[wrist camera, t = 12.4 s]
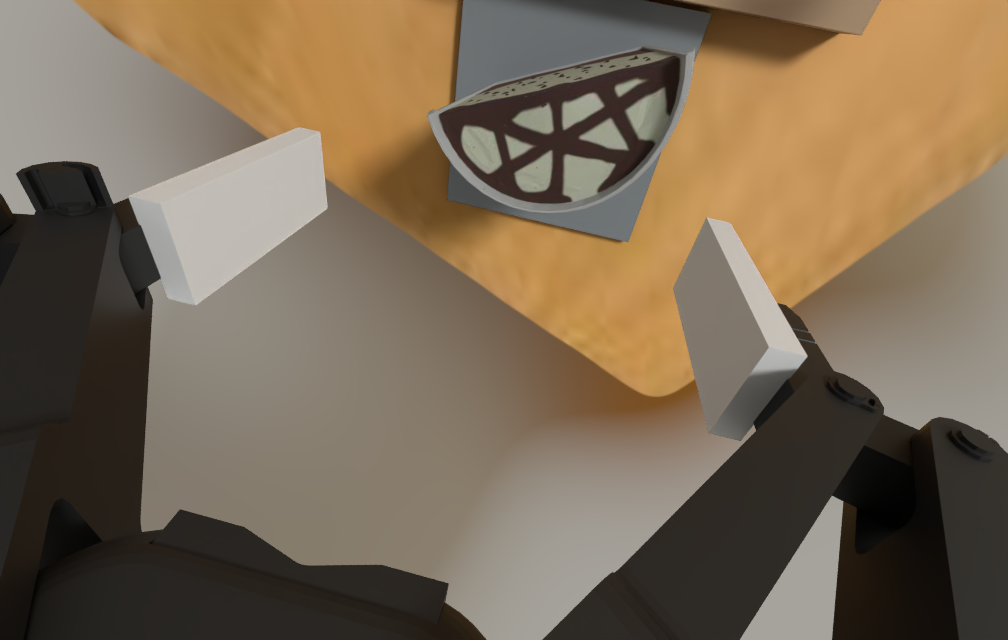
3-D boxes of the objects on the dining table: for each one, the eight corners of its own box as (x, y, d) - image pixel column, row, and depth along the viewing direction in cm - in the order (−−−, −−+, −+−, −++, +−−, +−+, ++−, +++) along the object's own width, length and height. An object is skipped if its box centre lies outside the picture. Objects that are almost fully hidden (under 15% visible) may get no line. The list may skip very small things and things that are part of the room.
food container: (493, 181, 31) (453, 238, 23) (471, 88, 28) (416, 117, 20) (675, 149, 28) (700, 204, 20) (673, 38, 25) (703, 50, 17)
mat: (449, 197, 33) (446, 199, 33) (468, -34, 25) (466, -35, 25) (627, 238, 33) (628, 242, 32) (709, 13, 24) (712, 13, 24)
